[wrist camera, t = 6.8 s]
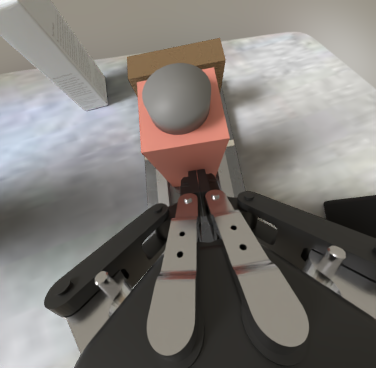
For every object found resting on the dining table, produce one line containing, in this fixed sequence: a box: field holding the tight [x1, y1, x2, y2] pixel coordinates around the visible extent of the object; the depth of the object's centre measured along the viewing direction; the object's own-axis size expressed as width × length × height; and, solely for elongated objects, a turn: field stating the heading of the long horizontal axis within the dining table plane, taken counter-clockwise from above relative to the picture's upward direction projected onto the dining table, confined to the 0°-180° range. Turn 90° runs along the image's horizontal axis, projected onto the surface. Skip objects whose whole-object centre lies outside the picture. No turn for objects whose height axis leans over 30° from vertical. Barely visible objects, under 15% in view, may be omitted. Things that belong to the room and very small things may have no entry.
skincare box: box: [0, 0, 108, 111], centre depth 18 cm, size 6×4×12 cm
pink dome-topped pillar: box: [137, 63, 230, 187], centre depth 13 cm, size 5×5×11 cm
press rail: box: [127, 38, 245, 261], centre depth 16 cm, size 26×12×8 cm, turn 8°
